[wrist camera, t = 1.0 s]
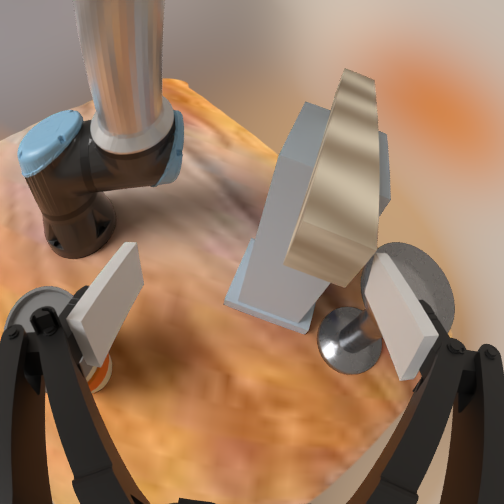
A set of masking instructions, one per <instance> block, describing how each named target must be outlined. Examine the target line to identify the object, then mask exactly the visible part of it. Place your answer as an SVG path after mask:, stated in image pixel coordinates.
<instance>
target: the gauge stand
mask: <svg viewBox="0 0 504 504" xmlns="http://www.w3.org/2000/svg"><path fill="white" fill-rule="evenodd" d="M329 115H330V110H328V109H325V108H322V107H319V106H317V105H314V104H311V103H308V102H305V104H304V106H303V108H302V110H301V112H300V114H299V115H298V118H297V120H296V122H295V123H294V125H293V128H292V129H291V132H290V134H289V135H288V138H287V140H286V142H285V144H284V146H283V148H282V150H281V152H280V154H279V156H278V160H277V163H276V167H275V171H274V174H273V178H272V181H271V185H270V188H269V192H268V195H267V199H266V202H265V206H264V210H263V213H262V217H261V220H260V224H259V227H258V231H257V234H256V238H255V239H253V238H251V240H250V243H249V245H248V247H247V249H246V252H245V254H244V256H243V258H242V261H241V263H240V265H239V268H238V270H237V272H236V274H235V277H234V279H233V281H232V284H231V286H230V288H229V290H228V293H227V295H226V297H225V300H224V305H226V306H229V307H231V308H234V309H236V310H239V311H241V312H244V313H247V314H249V315H252V316H255V317H257V318H260V319H263V320H265V321H268V322H271V323H274V324H276V325H279V326H282V327H285V328H287V329H290V330H293V331H296V332H299V333H302V334H306V333H307V332H308V331H309V327H310V323H311V319H312V315H313V312H314V308H315V304H316V301H317V299H318V298H319V297H320V296H321V294H322V293H323V292H324V291H325V289H326V288H327V287H328V285H329V284H330V282H327V281H325V280H322V279H319V278H317V277H314V276H311V275H309V274H306V273H303V272H301V271H298V270H295V269H293V268H290V267H287V266H285V265H283V263H284V260H285V257H286V254H287V251H288V247H289V244H290V241H291V238H292V235H293V232H294V229H295V226H296V223H297V220H298V217H299V214H300V211H301V207H302V204H303V201H304V198H305V195H306V192H307V188H308V185H309V182H310V179H311V175H312V172H313V169H314V166H315V162H316V159H317V156H318V152H319V149H320V146H321V142H322V139H323V135H324V132H325V129H326V125H327V122H328V118H329ZM378 133H379V170H380V183H379V216H380V215H381V213H382V212H383V210H384V209H385V207H386V206H387V205H388V203H389V202H390V200H391V198H390V197H391V196H390V170H389V154H388V141H387V135H386V134H385V133H383V132H381V131H378Z"/></svg>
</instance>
